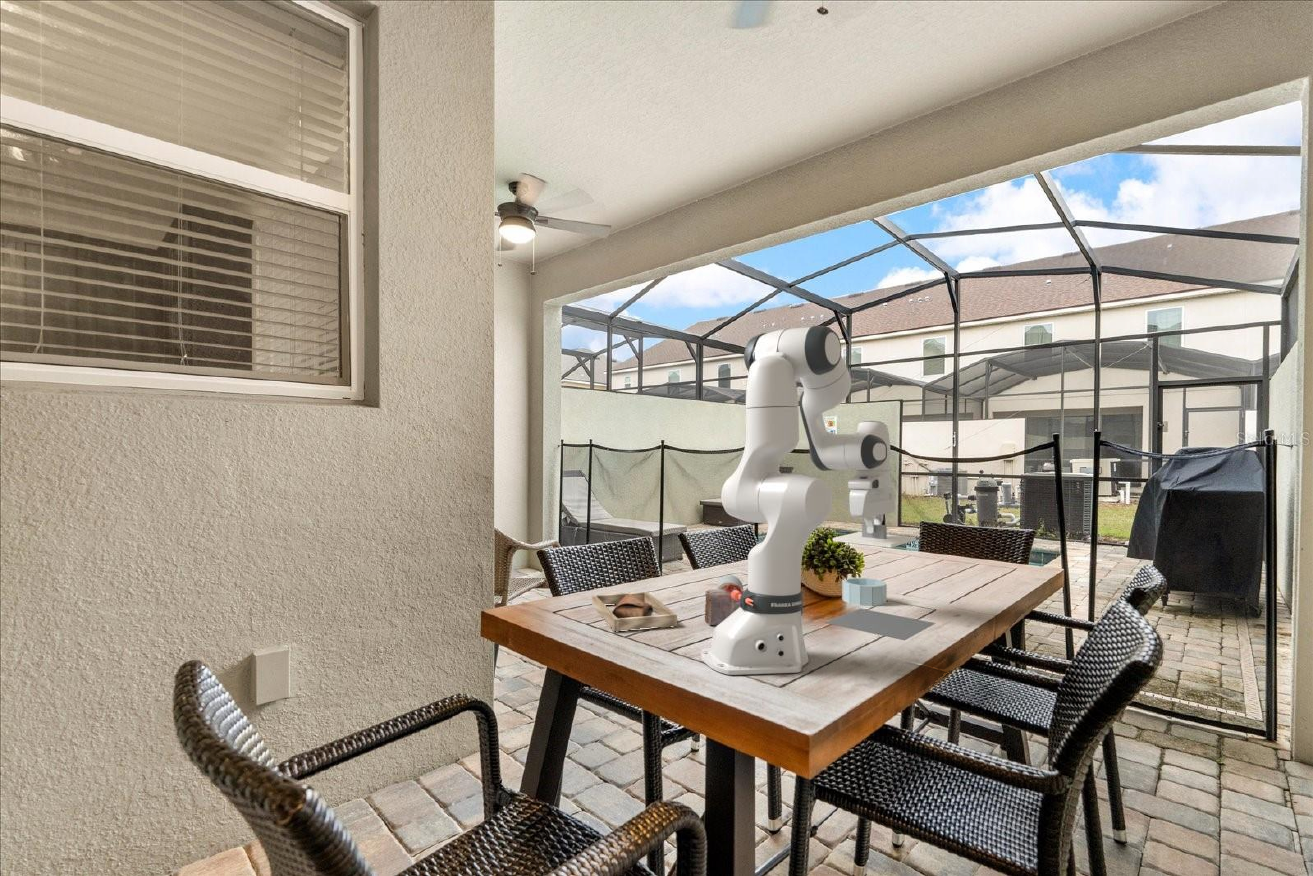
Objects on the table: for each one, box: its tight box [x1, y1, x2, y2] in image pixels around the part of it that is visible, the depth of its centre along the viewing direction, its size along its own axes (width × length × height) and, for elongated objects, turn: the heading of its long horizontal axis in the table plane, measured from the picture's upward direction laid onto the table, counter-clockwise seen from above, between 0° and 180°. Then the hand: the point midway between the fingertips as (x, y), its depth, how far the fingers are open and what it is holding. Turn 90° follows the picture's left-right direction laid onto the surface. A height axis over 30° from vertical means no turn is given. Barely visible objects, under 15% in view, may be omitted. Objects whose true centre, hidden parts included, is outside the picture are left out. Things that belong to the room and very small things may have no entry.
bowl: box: [841, 577, 888, 607], centre depth 175 cm, size 12×12×6 cm
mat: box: [824, 608, 936, 641], centre depth 151 cm, size 20×20×1 cm
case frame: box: [591, 591, 678, 631], centre depth 158 cm, size 16×26×3 cm, turn 18°
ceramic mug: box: [716, 574, 744, 590], centre depth 172 cm, size 11×8×8 cm
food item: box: [704, 584, 746, 626], centre depth 152 cm, size 14×8×10 cm, turn 96°
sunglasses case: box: [611, 592, 651, 618], centre depth 158 cm, size 18×7×7 cm
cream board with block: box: [832, 523, 917, 549], centre depth 162 cm, size 16×16×4 cm
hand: (874, 532), depth 162 cm, fingers closed on cream board with block, 2 cm apart
